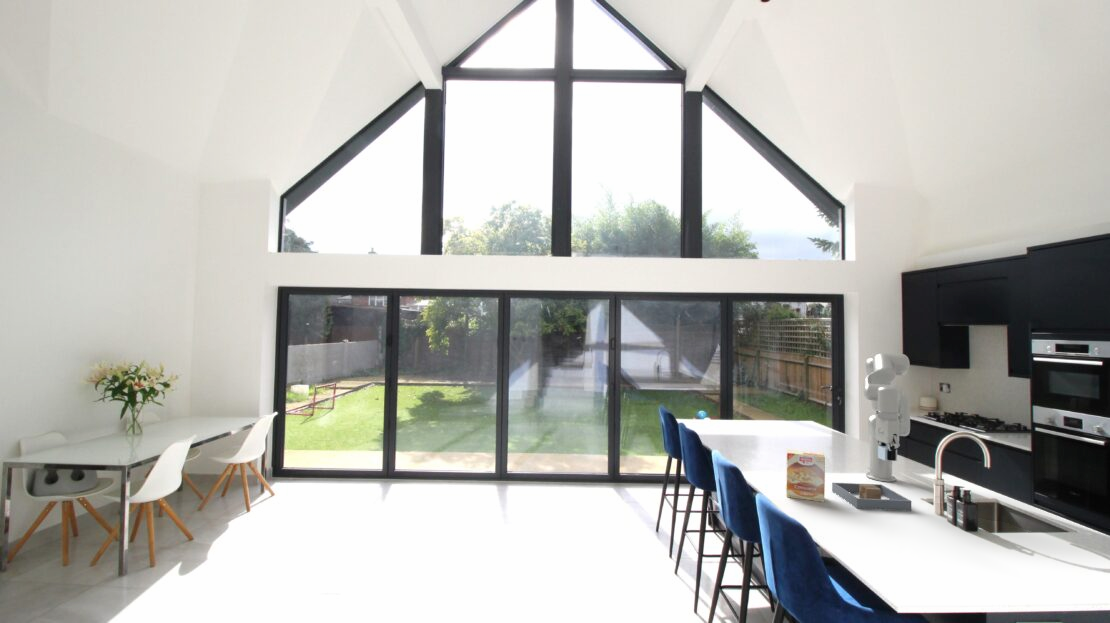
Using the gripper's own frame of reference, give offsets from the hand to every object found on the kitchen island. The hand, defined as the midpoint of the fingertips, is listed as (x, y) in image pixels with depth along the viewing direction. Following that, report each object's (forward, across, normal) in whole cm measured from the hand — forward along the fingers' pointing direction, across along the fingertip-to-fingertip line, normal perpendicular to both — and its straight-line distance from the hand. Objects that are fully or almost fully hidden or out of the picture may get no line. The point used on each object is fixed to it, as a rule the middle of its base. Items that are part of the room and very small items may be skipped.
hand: (887, 457), depth 220 cm
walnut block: (+19, -3, -5) cm, 20 cm away
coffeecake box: (+20, -5, -33) cm, 38 cm away
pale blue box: (+1, 0, 0) cm, 1 cm away
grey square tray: (+19, -3, -6) cm, 20 cm away
